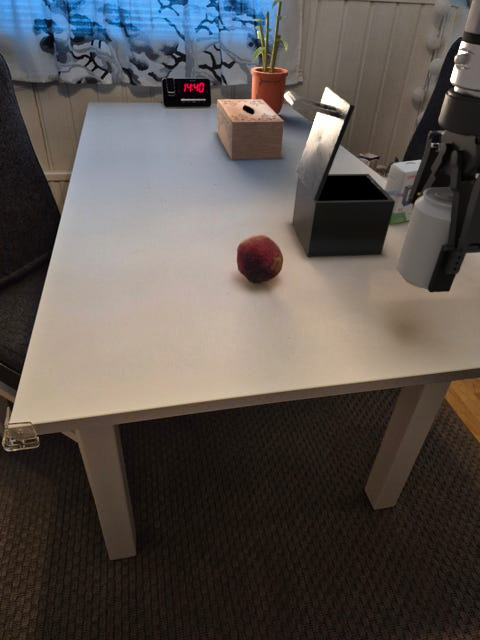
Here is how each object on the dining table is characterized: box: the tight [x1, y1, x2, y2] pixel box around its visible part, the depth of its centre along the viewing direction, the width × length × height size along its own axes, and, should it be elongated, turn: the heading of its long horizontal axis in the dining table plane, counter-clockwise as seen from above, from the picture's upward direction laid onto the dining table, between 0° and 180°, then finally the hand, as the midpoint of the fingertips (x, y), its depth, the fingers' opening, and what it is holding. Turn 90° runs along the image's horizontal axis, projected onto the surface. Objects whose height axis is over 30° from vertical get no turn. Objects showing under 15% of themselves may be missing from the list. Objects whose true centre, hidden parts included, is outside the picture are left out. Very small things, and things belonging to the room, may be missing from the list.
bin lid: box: [284, 86, 356, 201], centre depth 77 cm, size 16×14×9 cm
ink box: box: [384, 159, 422, 225], centre depth 95 cm, size 9×5×12 cm, turn 114°
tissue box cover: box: [216, 98, 285, 161], centre depth 133 cm, size 26×14×10 cm, turn 11°
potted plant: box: [250, 0, 289, 115], centre depth 154 cm, size 17×16×35 cm
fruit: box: [236, 234, 284, 285], centre depth 74 cm, size 8×8×8 cm
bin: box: [291, 173, 395, 258], centre depth 87 cm, size 15×14×11 cm
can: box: [396, 186, 460, 290], centre depth 58 cm, size 8×8×12 cm
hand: (424, 273), depth 61 cm, fingers closed on can, 7 cm apart
